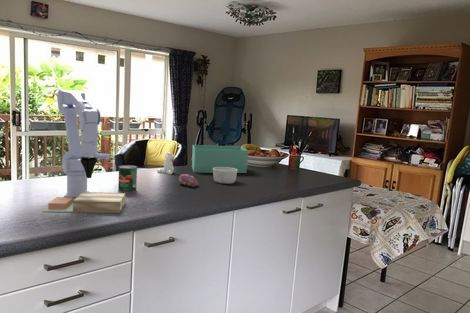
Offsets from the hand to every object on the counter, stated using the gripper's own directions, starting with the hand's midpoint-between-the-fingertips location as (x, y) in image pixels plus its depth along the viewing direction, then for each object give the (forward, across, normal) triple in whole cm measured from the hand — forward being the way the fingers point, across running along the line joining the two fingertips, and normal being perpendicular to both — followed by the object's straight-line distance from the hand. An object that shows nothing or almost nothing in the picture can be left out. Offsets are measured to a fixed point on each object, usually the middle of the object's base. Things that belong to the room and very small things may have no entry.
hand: (89, 177), depth 146 cm
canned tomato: (+11, +11, +25) cm, 29 cm away
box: (+11, +58, +89) cm, 107 cm away
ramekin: (+11, +58, +53) cm, 79 cm away
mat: (+10, -8, -4) cm, 14 cm away
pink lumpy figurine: (+11, +38, +41) cm, 57 cm away
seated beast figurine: (+11, +27, +74) cm, 79 cm away
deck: (+10, +5, -4) cm, 12 cm away
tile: (+8, -9, -4) cm, 13 cm away
